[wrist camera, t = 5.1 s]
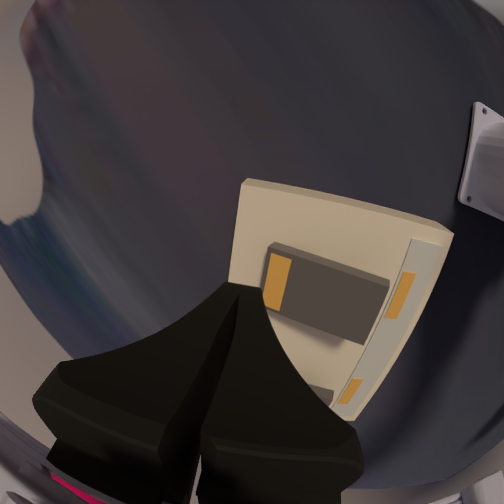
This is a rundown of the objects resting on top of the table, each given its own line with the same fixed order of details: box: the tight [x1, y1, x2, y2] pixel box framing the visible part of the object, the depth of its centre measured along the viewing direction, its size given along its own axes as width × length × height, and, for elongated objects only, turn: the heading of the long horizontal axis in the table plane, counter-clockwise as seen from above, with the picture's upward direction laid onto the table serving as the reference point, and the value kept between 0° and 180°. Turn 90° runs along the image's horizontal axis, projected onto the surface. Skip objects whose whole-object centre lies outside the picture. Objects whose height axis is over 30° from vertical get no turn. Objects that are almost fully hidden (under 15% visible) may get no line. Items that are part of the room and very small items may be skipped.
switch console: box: [228, 178, 454, 421], centre depth 20 cm, size 14×20×3 cm
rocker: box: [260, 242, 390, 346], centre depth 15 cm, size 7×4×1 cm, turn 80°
